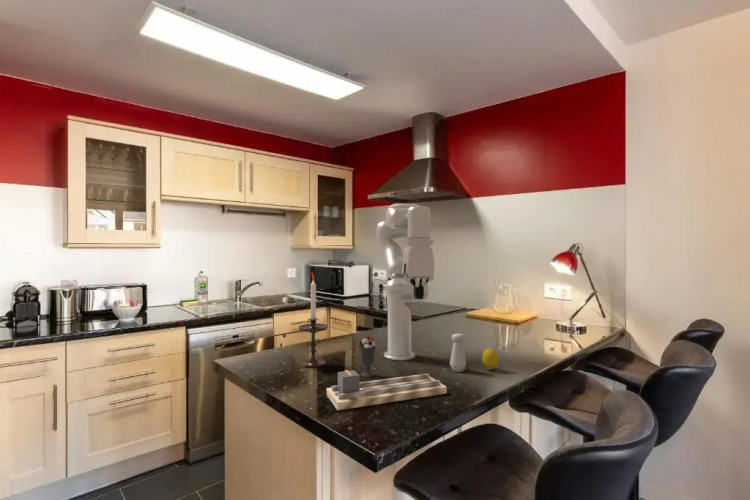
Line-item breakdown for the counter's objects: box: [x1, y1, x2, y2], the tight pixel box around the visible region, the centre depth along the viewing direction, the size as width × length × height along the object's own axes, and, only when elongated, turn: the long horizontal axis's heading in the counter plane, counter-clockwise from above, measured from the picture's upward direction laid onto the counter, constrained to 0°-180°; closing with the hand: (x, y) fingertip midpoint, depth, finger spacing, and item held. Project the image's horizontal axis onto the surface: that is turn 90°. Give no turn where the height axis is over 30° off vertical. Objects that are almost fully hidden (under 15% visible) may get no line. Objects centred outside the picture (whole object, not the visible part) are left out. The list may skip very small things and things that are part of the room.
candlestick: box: [298, 272, 329, 369], centre depth 145 cm, size 11×11×35 cm
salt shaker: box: [449, 333, 467, 373], centre depth 138 cm, size 6×6×13 cm
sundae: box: [358, 330, 378, 378], centre depth 133 cm, size 7×7×15 cm
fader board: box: [325, 373, 448, 411], centre depth 115 cm, size 34×12×3 cm, turn 111°
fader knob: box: [337, 369, 361, 394], centre depth 111 cm, size 5×5×5 cm
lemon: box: [481, 347, 499, 371], centre depth 139 cm, size 6×6×8 cm
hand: (418, 298), depth 128 cm, fingers closed
